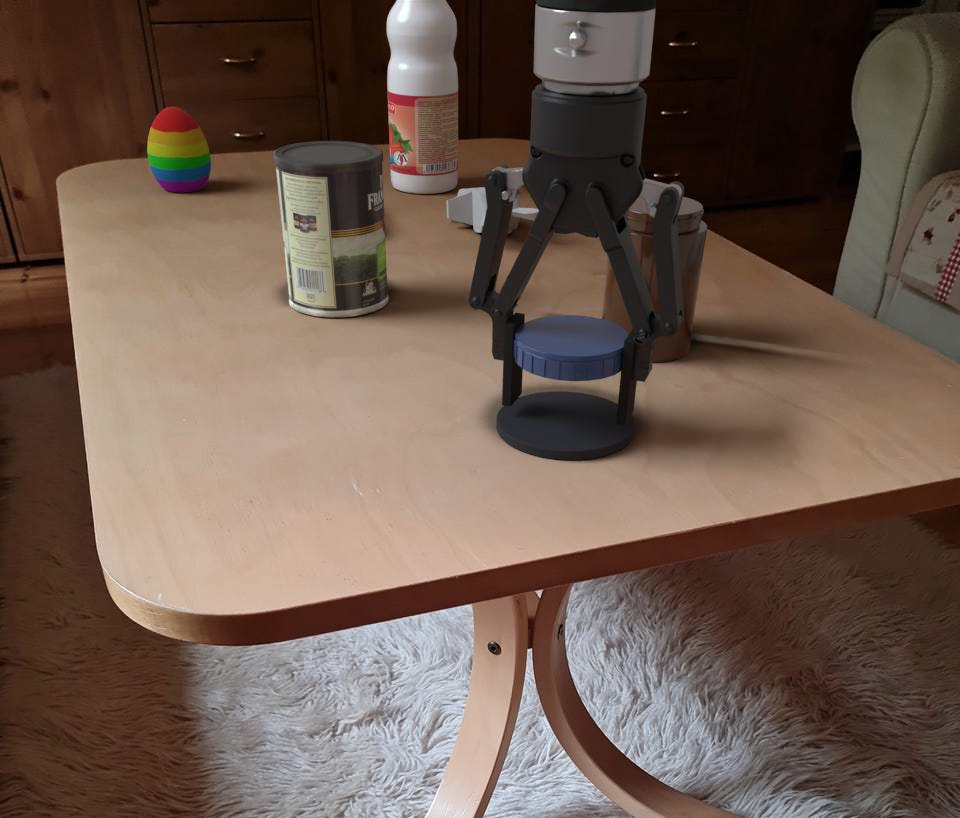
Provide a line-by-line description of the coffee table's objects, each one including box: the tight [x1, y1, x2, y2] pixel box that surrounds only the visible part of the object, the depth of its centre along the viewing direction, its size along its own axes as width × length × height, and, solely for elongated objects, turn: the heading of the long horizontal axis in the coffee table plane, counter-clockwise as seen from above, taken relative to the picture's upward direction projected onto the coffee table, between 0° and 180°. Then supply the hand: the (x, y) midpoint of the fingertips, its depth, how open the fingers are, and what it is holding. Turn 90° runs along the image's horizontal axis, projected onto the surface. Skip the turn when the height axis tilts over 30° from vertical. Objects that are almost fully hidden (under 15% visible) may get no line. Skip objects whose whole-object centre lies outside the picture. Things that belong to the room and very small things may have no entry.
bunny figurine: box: [445, 186, 539, 235], centre depth 123 cm, size 10×5×15 cm
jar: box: [601, 196, 708, 363], centre depth 91 cm, size 8×8×13 cm
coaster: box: [495, 390, 636, 461], centre depth 80 cm, size 11×11×1 cm
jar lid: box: [514, 314, 629, 382], centre depth 76 cm, size 9×9×2 cm
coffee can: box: [272, 140, 390, 318], centre depth 99 cm, size 10×10×14 cm
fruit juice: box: [385, 0, 459, 195], centre depth 133 cm, size 9×9×28 cm
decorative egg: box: [146, 106, 212, 194], centre depth 136 cm, size 8×8×10 cm
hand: (567, 407), depth 79 cm, fingers closed on jar lid, 8 cm apart
